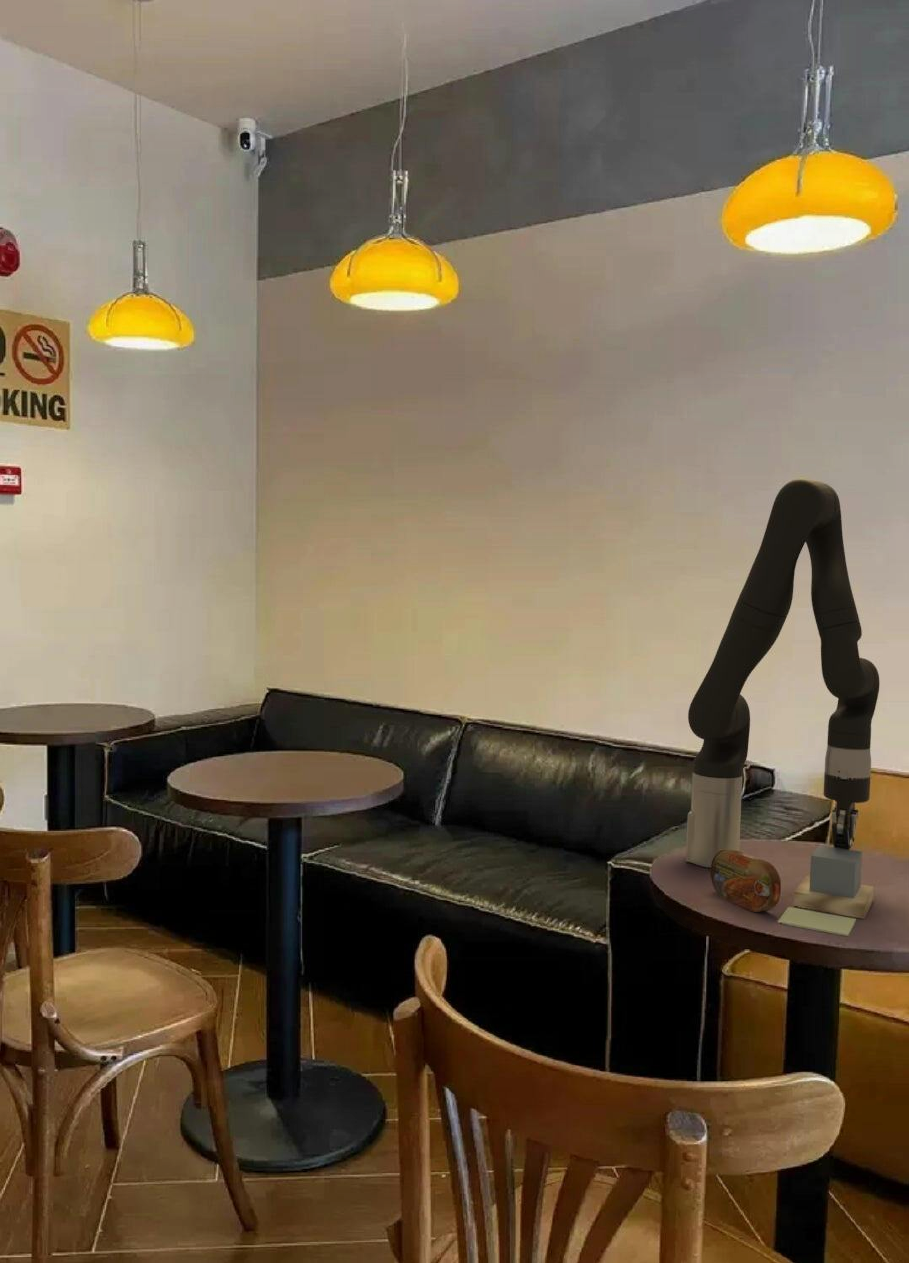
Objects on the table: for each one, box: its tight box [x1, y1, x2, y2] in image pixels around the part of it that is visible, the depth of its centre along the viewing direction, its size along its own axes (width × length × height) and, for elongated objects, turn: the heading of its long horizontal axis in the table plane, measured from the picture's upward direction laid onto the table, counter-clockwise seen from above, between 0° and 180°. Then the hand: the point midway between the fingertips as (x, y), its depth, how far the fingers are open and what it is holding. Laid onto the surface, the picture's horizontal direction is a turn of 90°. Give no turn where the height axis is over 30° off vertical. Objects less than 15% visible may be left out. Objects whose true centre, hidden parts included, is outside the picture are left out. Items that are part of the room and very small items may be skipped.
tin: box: [709, 850, 782, 913], centre depth 169 cm, size 15×3×8 cm, turn 24°
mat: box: [777, 906, 857, 937], centre depth 161 cm, size 10×8×1 cm
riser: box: [793, 875, 875, 920], centre depth 170 cm, size 11×11×2 cm
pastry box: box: [809, 845, 863, 898], centre depth 170 cm, size 7×8×6 cm
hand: (842, 870), depth 177 cm, fingers closed
